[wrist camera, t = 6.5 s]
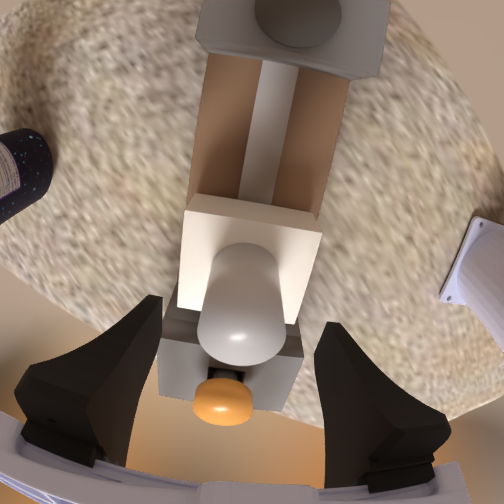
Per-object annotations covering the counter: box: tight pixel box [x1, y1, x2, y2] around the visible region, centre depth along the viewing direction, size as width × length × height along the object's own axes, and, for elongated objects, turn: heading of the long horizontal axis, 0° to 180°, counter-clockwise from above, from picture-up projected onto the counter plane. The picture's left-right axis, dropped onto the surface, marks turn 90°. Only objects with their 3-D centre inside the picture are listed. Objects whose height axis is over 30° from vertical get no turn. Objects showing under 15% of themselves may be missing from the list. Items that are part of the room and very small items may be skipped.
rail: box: [157, 0, 391, 412], centre depth 18 cm, size 9×26×6 cm, turn 170°
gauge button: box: [193, 368, 253, 426], centre depth 19 cm, size 4×4×3 cm
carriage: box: [177, 193, 322, 366], centre depth 16 cm, size 7×6×8 cm
